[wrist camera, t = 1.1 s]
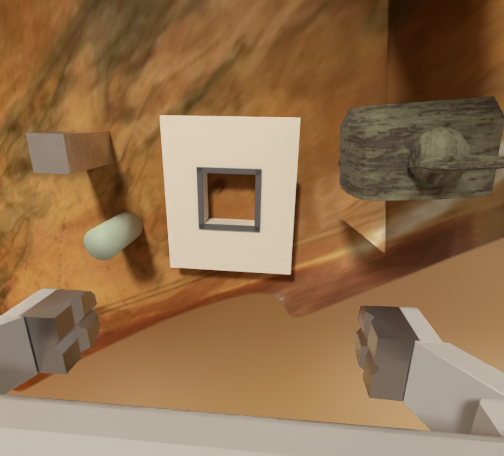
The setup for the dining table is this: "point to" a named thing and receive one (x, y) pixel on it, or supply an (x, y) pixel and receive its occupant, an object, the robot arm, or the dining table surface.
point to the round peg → (113, 235)
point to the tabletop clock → (421, 149)
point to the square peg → (69, 151)
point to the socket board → (230, 162)
